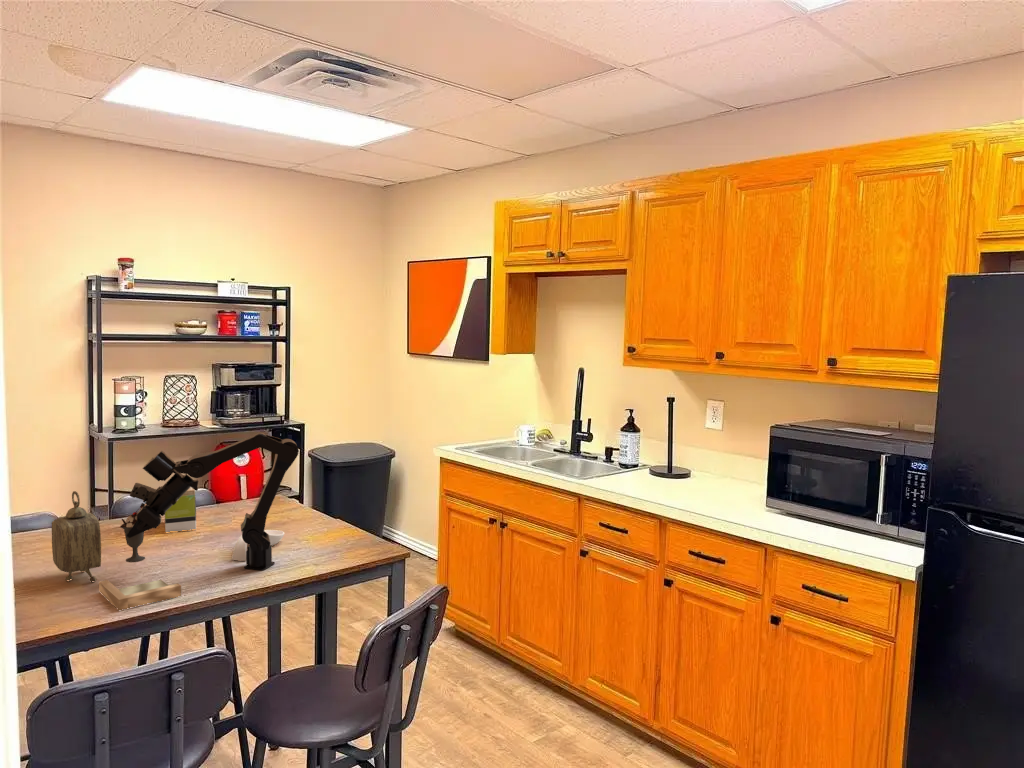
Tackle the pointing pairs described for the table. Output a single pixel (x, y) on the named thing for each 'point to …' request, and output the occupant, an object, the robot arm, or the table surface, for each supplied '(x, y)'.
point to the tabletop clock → (76, 541)
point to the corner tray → (138, 593)
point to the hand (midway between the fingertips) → (129, 533)
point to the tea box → (182, 513)
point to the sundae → (134, 540)
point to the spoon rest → (241, 546)
